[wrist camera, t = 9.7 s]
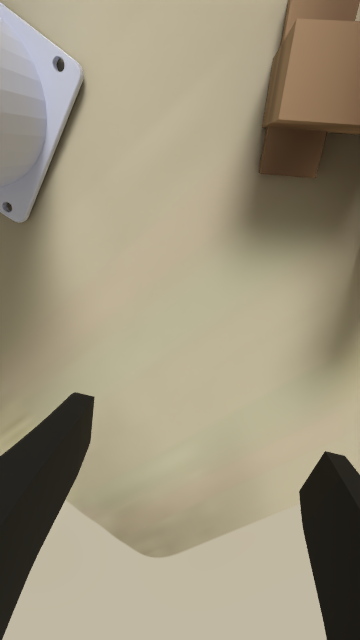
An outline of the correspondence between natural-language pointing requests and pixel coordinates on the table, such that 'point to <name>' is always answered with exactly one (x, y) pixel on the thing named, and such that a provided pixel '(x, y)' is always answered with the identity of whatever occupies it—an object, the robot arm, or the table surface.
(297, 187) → the table surface
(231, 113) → the table surface
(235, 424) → the table surface
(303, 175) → the walnut rail
